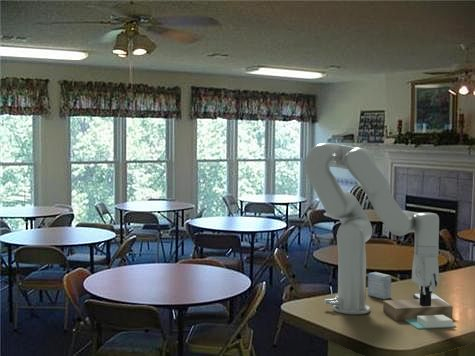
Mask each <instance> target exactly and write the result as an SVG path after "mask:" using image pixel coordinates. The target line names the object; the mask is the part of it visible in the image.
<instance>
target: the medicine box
mask: <svg viewBox="0 0 475 356" xmlns="http://www.w3.org/2000/svg"><path fill="white" fill-rule="evenodd" d="M391 289H392V275H390V274H386V273H381V272H377V271H374V272H369V273H367V296H370V297H373V298H379V299H381V300H387V299H391V298H392V290H391Z"/></svg>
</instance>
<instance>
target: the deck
mask: <svg viewBox="0 0 475 356" xmlns="http://www.w3.org/2000/svg"><path fill="white" fill-rule="evenodd" d="M447 303H448V302H447ZM447 303H445V302H443V301H441V300H440V299H438V298H437V299H431V306H424V307H423V306H421V305H420V299H415V298H414V299H413V298H412V299H389V300H387V299H385V300H383V307H382V308H383V309H382V312H383V313H384V314H385V315H387V316H389V318H391V319H392V320H393V321H405V319H417V316H425V315H444V316H446V317H448V318H450V319H453V309H454V308H453V307H454V306H453V305H451V304H450V303H449V304H450V305H449V304H447Z"/></svg>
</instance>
